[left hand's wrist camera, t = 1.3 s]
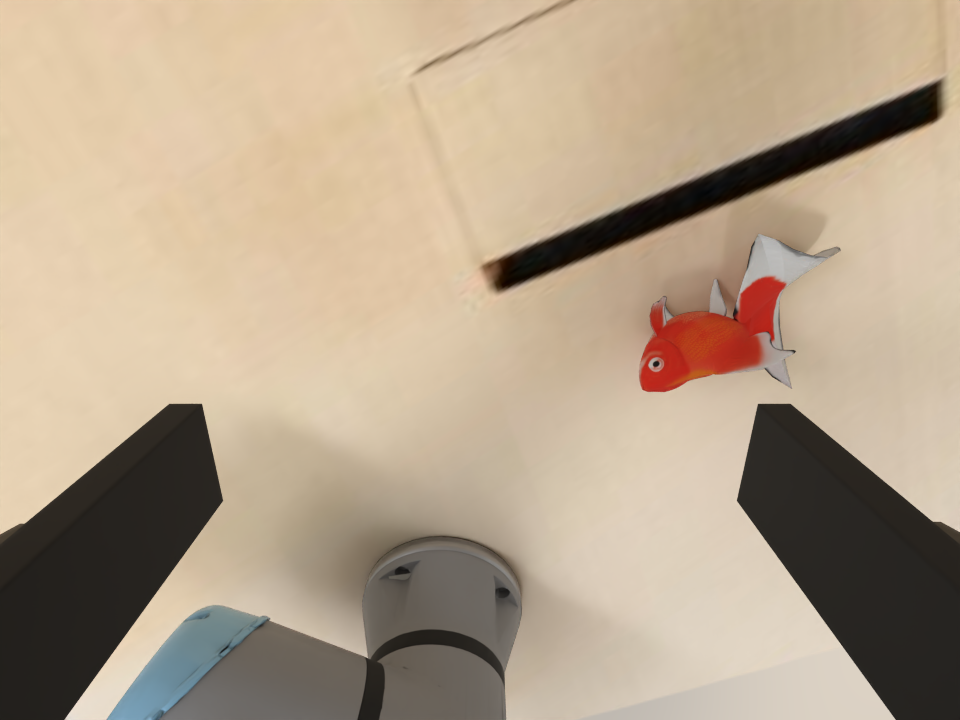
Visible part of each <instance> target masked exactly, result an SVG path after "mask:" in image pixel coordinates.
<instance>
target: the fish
mask: <svg viewBox="0 0 960 720" xmlns="http://www.w3.org/2000/svg"><path fill="white" fill-rule="evenodd" d="M839 251H841V250H840V248H839V247H834V248H831V249H828V250H824V251H822V252H820V253H818V254H816V255H814V256H812V255H809V254H806V253H803V252H800V251H797V250H794V249H792V248H790V247H789V246H787V245H785V244H784V243H782V242H780V241H778V240H776V239H773V238H770V237H767V236H764V235H761V234H758V236H757V238H756V240H755V241H754V243H753V245H752V247H751V252H750V256H749V261H748V266H747V270H746V273H745V276H744V279H743V282H742V285H741V288H740V292H739V295H738V299H737V302H736V306H735V310H734V313H733V317H734V319H731V318H729V317H726V316H725V315H726V312H727V309H726V305H725V302H724V300H723V297H722V295H721V291H720V288H719V285H718V281H717V279H714V282H713V287H712V291H711V296H710V309H709V312H704V311H697V312H688V313H684V314H680V315H677V316H675V317H674V316H673V315H672V314H671V313H670V312H669V311H668V309H667V308H666V306H665V304H666V300H667V297H666V296H663V297H662V298H661V299H660V300H659V301H658V302H656V303H654V304H653V306H652V308H651V313H650V322H651V326H652V329H653V331H654V334H653V335H652V337H651V338H650V340H649V342H648V344H647V345H646V347H645V350H644V353H643V356H642V359H641V362H640V367H639V380H640V384H641V387H642V390H644V391H647V392H666V391H670V390H673V389H675V388H677V387H679V386H681V385H683V384H684V383H686V382H687V381H689V380H693V379H697V378H701V377H706V376H710V375H712V374H729V373H738V372H747V371H755V370H762V369H765V370H766V371H767V372H768V373H769V374H770V375H771V376H772V377H773V378H775V379H777V380H778V381H780V382H782V383H783V384H785V385H786V386H788V387H790V388H791V389H792V387H791V383H790V379H789V375H788V371H787V367H786V363H785V358H787V357H788V356H790V355H792V354H794V353H795V352H796V351H794V350H783V345H782V338H781V332H780V317H779V302H780V297H781V294H782V292H783V290H784V288H785V287H787V286H788V285H789V284H791V283H792V282H794V281H795V280H796V279H798V278H799V277H800V276H802V275H803V274H805V273H806V272H808V271H809V270H811V269H812V268H814V267H816V266H818V265H819V264H820V263H822V262H823V261H825V260H826V259H828V258H829V257H831V256H833V255H834V254H836V253H838V252H839Z"/></svg>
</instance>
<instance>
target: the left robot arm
mask: <svg viewBox="0 0 960 720" xmlns="http://www.w3.org/2000/svg"><path fill="white" fill-rule="evenodd" d="M222 501H223V498H222V494H221V489H220V485H219V480H218V475H217V471H216V466H215V462H214V457H213V452H212V448H211V443H210V439H209V434H208V430H207V425H206V420H205V416H204V411H203V407H202V404H169V405H168V406H166V407H165V408H164V409H163V410H162V411H160V412H159V413H158V414H157V415H156V416H154V417H153V418H152V419H151V420H149V421H148V422H147V423H146V424H145V425H143V426H142V427H141V428H140V429H139V430H137V431H136V432H135V433H134V434H133V435H131V436H130V437H129V438H128V439H127V440H125V441H124V442H123V443H122V444H121V445H119V446H118V447H117V448H116V449H115V450H113V451H112V452H111V453H110V454H108V455H107V456H106V457H105V458H104V459H102V460H101V461H100V462H99V463H98V464H96V465H95V466H94V467H93V468H92V469H90V470H89V471H88V472H87V473H86V474H84V475H83V476H82V477H81V478H80V479H78V480H77V481H76V482H75V483H73V484H72V485H71V486H70V487H69V488H67V489H66V490H65V491H64V492H63V493H61V494H60V495H59V496H58V497H57V498H55V499H54V500H53V501H52V502H51V503H49V504H48V505H47V506H46V507H45V508H43V509H42V510H41V511H40V512H39V513H37V514H36V515H35V516H34V517H32V518H31V519H30V520H29V521H28V522H26V523H25V524H19V525H17V526H15V527H13V528H11V529H10V530H8V531H6V532H4V533H2V534H1V535H0V720H64V719H65V718H66V717H67V715H68V714H69V712H70V711H71V710H72V708H73V707H74V706H75V704H76V703H77V701H78V700H79V699H80V697H81V696H82V695H83V693H84V692H85V690H86V689H87V688H88V686H89V685H90V683H91V682H92V681H93V679H94V678H95V677H96V675H97V674H98V672H99V671H100V670H101V668H102V667H103V666H104V664H105V663H106V661H107V660H108V659H109V657H110V656H111V655H112V653H113V652H114V650H115V649H116V648H117V646H118V645H119V643H120V642H121V641H122V639H123V638H124V637H125V635H126V634H127V632H128V631H129V630H130V628H131V627H132V626H133V624H134V623H135V621H136V620H137V619H138V617H139V616H140V615H141V613H142V612H143V610H144V609H145V608H146V606H147V605H148V604H149V602H150V601H151V599H152V598H153V597H154V595H155V594H156V592H157V591H158V590H159V588H160V587H161V586H162V584H163V583H164V581H165V580H166V579H167V577H168V576H169V575H170V573H171V572H172V570H173V569H174V568H175V566H176V565H177V564H178V562H179V561H180V559H181V558H182V557H183V555H184V554H185V553H186V551H187V550H188V548H189V547H190V546H191V544H192V543H193V541H194V540H195V539H196V537H197V536H198V535H199V533H200V532H201V530H202V529H203V528H204V526H205V525H206V524H207V522H208V521H209V519H210V518H211V517H212V515H213V514H214V513H215V511H216V510H217V508H218V507H219V506H220V504H221V503H222ZM737 501H738V503H739V504H740V506H741V507H742V508H743V510H744V511H745V513H746V514H747V515H748V517H749V518H750V519H751V521H752V522H753V524H754V525H755V526H756V528H757V529H758V530H759V532H760V533H761V535H762V536H763V537H764V539H765V540H766V541H767V543H768V544H769V546H770V547H771V548H772V550H773V551H774V553H775V554H776V555H777V557H778V558H779V559H780V561H781V562H782V564H783V565H784V566H785V568H786V569H787V570H788V572H789V573H790V575H791V576H792V577H793V579H794V580H795V581H796V583H797V584H798V586H799V587H800V588H801V590H802V591H803V592H804V594H805V595H806V597H807V598H808V599H809V601H810V602H811V604H812V605H813V606H814V608H815V609H816V610H817V612H818V613H819V615H820V616H821V617H822V619H823V620H824V621H825V623H826V624H827V626H828V627H829V628H830V630H831V631H832V632H833V634H834V635H835V637H836V638H837V639H838V641H839V642H840V644H841V645H842V646H843V648H844V649H845V650H846V652H847V653H848V655H849V656H850V657H851V659H852V660H853V661H854V663H855V664H856V666H857V667H858V668H859V670H860V671H861V672H862V674H863V675H864V677H865V678H866V679H867V681H868V682H869V683H870V685H871V686H872V688H873V689H874V690H875V692H876V693H877V695H878V696H879V697H880V699H881V700H882V701H883V703H884V704H885V706H886V707H887V708H888V710H889V711H890V712H891V714H892V715H893V717H894V718H895V719H896V720H960V532H958V531H956V530H955V529H953V528H951V527H949V526H947V525H945V524H944V523H942V522H932V521H931V520H930V519H929V518H928V517H926V516H925V515H924V514H923V513H921V512H920V511H919V510H918V509H917V508H915V507H914V506H913V505H912V504H911V503H909V502H908V501H907V500H906V499H905V498H903V497H902V496H901V495H900V494H899V493H897V492H896V491H895V490H894V489H893V488H891V487H890V486H889V485H888V484H887V483H885V482H884V481H883V480H882V479H880V478H879V477H878V476H877V475H876V474H874V473H873V472H872V471H871V470H870V469H868V468H867V467H866V466H865V465H864V464H862V463H861V462H860V461H859V460H858V459H856V458H855V457H854V456H853V455H852V454H850V453H849V452H848V451H847V450H845V449H844V448H843V447H842V446H841V445H839V444H838V443H837V442H836V441H835V440H833V439H832V438H831V437H830V436H829V435H827V434H826V433H825V432H824V431H823V430H821V429H820V428H819V427H818V426H817V425H815V424H814V423H813V422H812V421H811V420H809V419H808V418H807V417H806V416H804V415H803V414H802V413H801V412H800V411H798V410H797V409H796V408H795V407H794V406H792V405H791V404H758V407H757V411H756V416H755V420H754V425H753V430H752V434H751V439H750V443H749V448H748V452H747V457H746V462H745V466H744V471H743V475H742V480H741V484H740V489H739V494H738V498H737ZM521 611H522V608H521V594H520V587H519V583H518V581H517V578H516V576H515V574H514V573H513V571H512V570H511V568H510V567H509V566H508V564H507V563H506V562H505V561H504V560H503V559H502V558H500V557H499V556H498V555H497V554H495V553H494V552H492V551H491V550H489V549H487V548H485V547H483V546H481V545H479V544H476V543H473V542H470V541H467V540H463V539H458V538H450V537H429V538H422V539H418V540H414V541H410V542H407V543H405V544H402V545H400V546H398V547H396V548H394V549H393V550H391V551H390V552H388V553H387V554H386V555H384V556H383V557H382V558H381V559H380V560H379V561H378V562H377V564H376V565H375V566H374V568H373V569H372V571H371V573H370V575H369V578H368V581H367V584H366V588H365V592H364V596H363V620H364V628H365V636H366V645H367V653H368V658H366V657H364V656H361V655H358V654H356V653H353V652H350V651H348V650H345V649H342V648H340V647H337V646H334V645H332V644H329V643H327V642H324V641H321V640H319V639H316V638H313V637H311V636H308V635H305V634H303V633H300V632H297V631H295V630H292V629H290V628H287V627H284V626H282V625H279V624H276V623H274V622H271V621H270V618H269V617H267V616H261V617H257V616H254V615H251V614H248V613H245V612H241V611H238V610H235V609H232V608H228V607H225V606H220V605H212V606H208V607H205V608H202V609H200V610H198V611H196V612H195V613H193V614H192V615H190V616H189V617H188V618H187V619H186V620H185V621H184V622H183V623H182V624H181V625H180V626H179V627H178V628H177V629H176V630H175V631H174V632H173V633H172V635H171V636H170V637H169V638H168V639H167V640H166V641H165V643H164V644H163V645H162V646H161V648H160V649H159V650H158V651H157V653H156V654H155V655H154V656H153V658H152V659H151V660H150V661H149V663H148V664H147V665H146V666H145V668H144V669H143V670H142V672H141V673H140V674H139V676H138V677H137V678H136V680H135V681H134V682H133V684H132V685H131V686H130V688H129V689H128V690H127V692H126V693H125V694H124V696H123V697H122V699H121V700H120V701H119V703H118V704H117V705H116V707H115V708H114V710H113V711H112V713H111V714H110V715H109V717H108V718H107V720H506V704H505V669H506V666H507V663H508V660H509V657H510V653H511V650H512V647H513V644H514V641H515V637H516V634H517V631H518V628H519V624H520V619H521Z"/></svg>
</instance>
